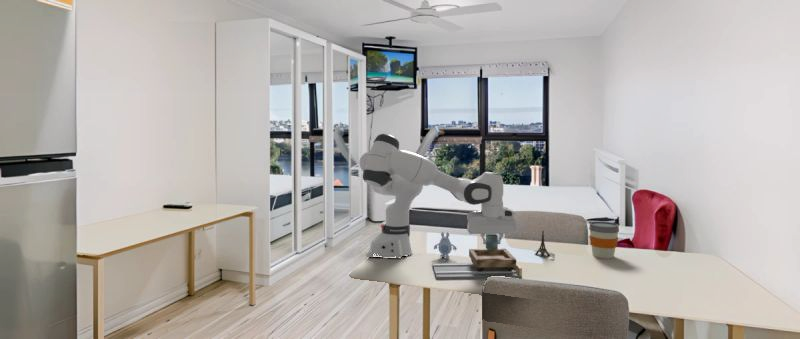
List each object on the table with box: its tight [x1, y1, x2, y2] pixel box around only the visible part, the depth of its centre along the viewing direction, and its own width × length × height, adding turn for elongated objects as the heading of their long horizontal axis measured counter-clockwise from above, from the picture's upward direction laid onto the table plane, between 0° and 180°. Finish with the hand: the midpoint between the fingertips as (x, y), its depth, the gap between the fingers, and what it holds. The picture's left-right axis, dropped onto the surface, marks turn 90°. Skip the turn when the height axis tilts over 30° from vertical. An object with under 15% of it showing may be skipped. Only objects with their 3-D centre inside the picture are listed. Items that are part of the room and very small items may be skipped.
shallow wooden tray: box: [468, 248, 517, 272], centre depth 179 cm, size 16×16×6 cm
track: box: [431, 262, 523, 280], centre depth 179 cm, size 34×18×4 cm, turn 91°
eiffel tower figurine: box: [533, 230, 556, 262], centre depth 201 cm, size 15×10×13 cm
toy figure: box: [433, 231, 458, 259], centre depth 199 cm, size 11×6×12 cm, turn 77°
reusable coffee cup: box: [588, 221, 620, 259], centre depth 200 cm, size 13×12×15 cm
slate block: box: [485, 234, 499, 250], centre depth 178 cm, size 4×4×6 cm
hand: (491, 243), depth 178 cm, fingers closed on slate block, 4 cm apart
